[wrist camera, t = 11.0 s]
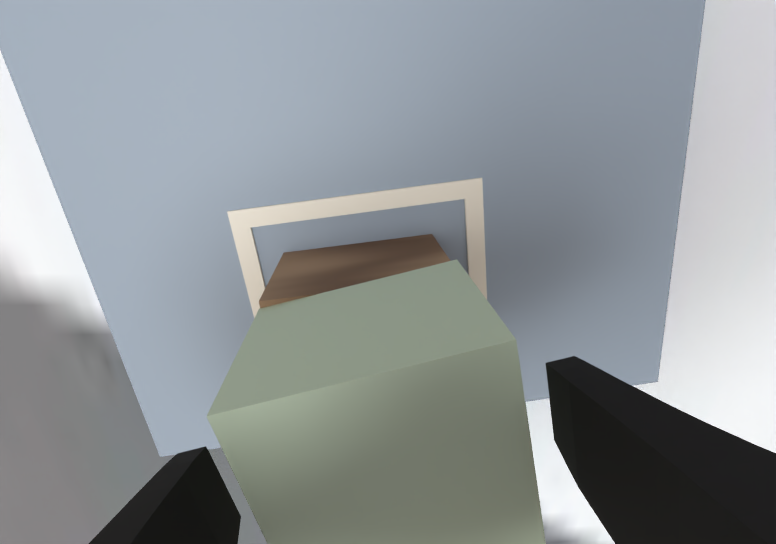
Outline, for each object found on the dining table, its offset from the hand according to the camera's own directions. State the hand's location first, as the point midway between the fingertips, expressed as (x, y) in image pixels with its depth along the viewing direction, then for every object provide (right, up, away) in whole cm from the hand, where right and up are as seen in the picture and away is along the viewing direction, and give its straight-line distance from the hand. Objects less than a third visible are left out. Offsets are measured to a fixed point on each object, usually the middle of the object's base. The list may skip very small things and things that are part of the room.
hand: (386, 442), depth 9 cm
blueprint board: (0, +6, +6) cm, 9 cm away
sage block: (0, +1, +2) cm, 3 cm away
